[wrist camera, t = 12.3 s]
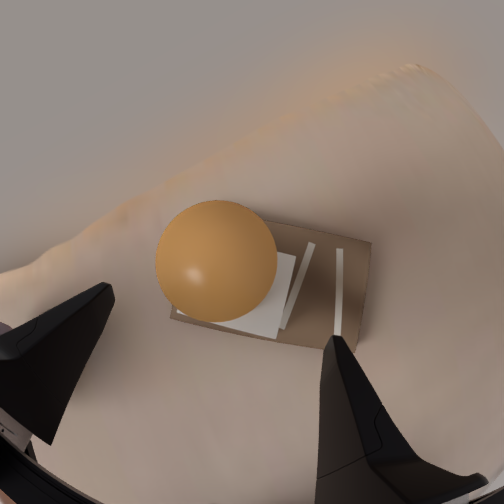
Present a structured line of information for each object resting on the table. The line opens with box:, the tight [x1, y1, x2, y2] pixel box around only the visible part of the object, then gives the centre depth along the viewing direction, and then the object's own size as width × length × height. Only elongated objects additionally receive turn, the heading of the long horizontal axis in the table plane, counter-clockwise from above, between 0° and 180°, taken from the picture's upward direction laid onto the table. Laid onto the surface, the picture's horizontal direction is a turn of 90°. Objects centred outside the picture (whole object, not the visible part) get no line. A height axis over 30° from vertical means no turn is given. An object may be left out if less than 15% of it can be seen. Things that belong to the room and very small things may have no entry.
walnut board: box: [170, 220, 372, 353], centre depth 19 cm, size 8×13×2 cm, turn 78°
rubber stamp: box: [156, 200, 296, 339], centre depth 13 cm, size 5×6×11 cm
